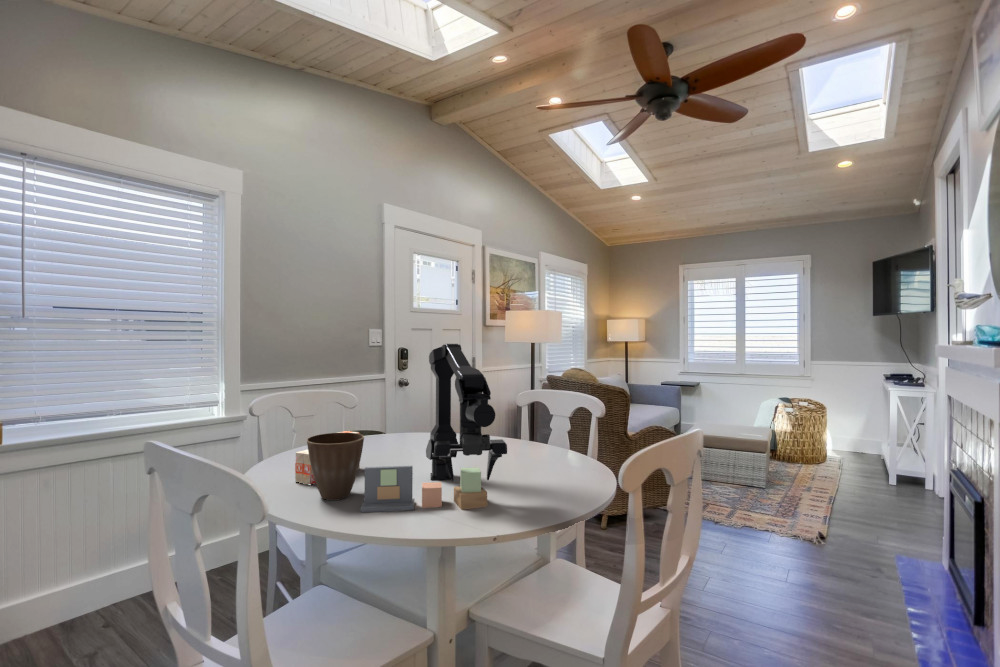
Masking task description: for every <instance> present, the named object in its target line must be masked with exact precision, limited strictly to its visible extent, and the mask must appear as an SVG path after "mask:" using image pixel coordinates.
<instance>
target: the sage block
mask: <svg viewBox="0 0 1000 667" xmlns="http://www.w3.org/2000/svg"><path fill="white" fill-rule="evenodd" d="M459 484H460V486H459V487H461V492H462V493H464V492H481V487H482V471H481V469H480V467H461V468H460V482H459Z"/></svg>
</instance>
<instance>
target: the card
mask: <svg viewBox="0 0 1000 667" xmlns="http://www.w3.org/2000/svg"><path fill="white" fill-rule="evenodd" d="M413 470H414V469H413V465H391V466H389V465H388V466H365V467H364V500H363V502H362V504H361V507H360V513H373V512H374V513H375V512H378V513H379V512H396V511H414V510H415V504H416V503H415V498H413V482H414V481H413V479H414V477H413V474H414V473H413Z"/></svg>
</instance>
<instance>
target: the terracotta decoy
mask: <svg viewBox="0 0 1000 667" xmlns="http://www.w3.org/2000/svg"><path fill="white" fill-rule="evenodd" d="M442 490H443V488H442V481H437V482H422V483H421V508H422V509H424V508H427V509H428V508H442V506H443V504H442V503H443V498H442V496H443V493H442V492H443V491H442Z"/></svg>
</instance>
